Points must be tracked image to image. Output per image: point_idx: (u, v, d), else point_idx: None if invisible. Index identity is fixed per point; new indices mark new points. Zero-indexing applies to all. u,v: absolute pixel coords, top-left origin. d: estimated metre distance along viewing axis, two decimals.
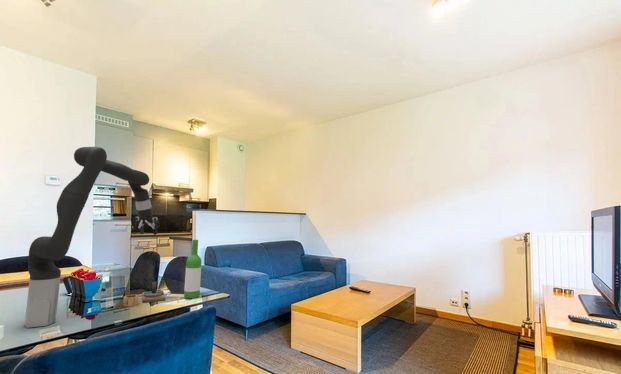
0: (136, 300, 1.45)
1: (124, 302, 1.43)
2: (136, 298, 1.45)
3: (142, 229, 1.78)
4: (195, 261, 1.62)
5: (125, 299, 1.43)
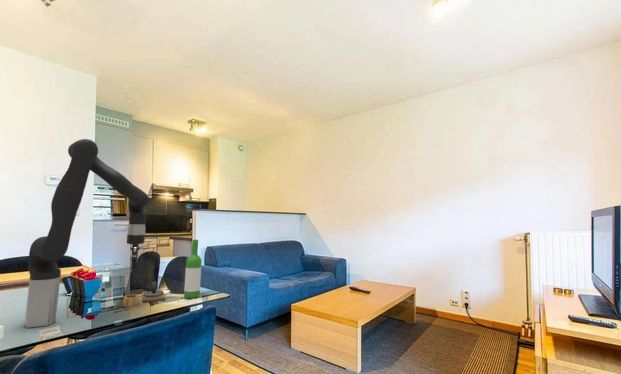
0: (136, 300, 1.45)
1: (124, 302, 1.43)
2: (136, 298, 1.45)
3: None
4: (195, 261, 1.62)
5: (125, 299, 1.43)
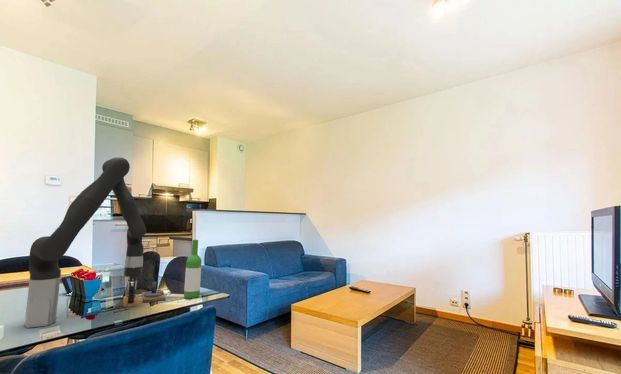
0: (136, 300, 1.45)
1: (124, 302, 1.43)
2: (136, 298, 1.45)
3: None
4: (195, 261, 1.62)
5: (125, 299, 1.43)
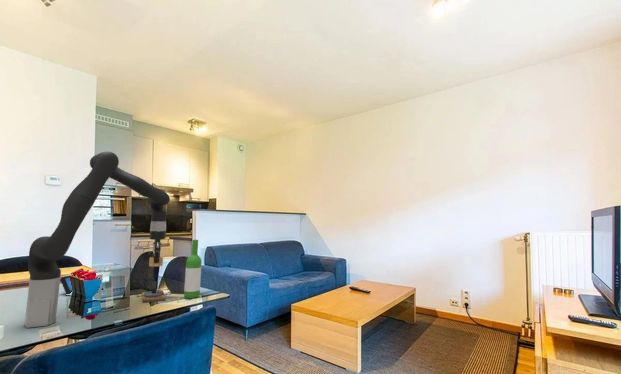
0: (161, 261, 1.60)
1: (150, 262, 1.58)
2: (161, 259, 1.60)
3: None
4: (195, 261, 1.62)
5: (151, 259, 1.58)
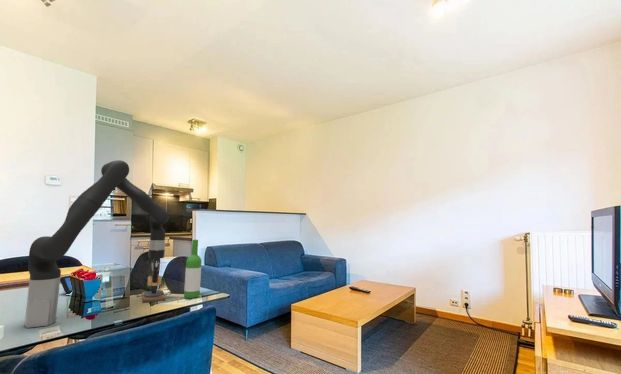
0: (159, 280, 1.59)
1: (149, 281, 1.57)
2: (159, 278, 1.59)
3: None
4: (195, 261, 1.62)
5: (150, 279, 1.57)
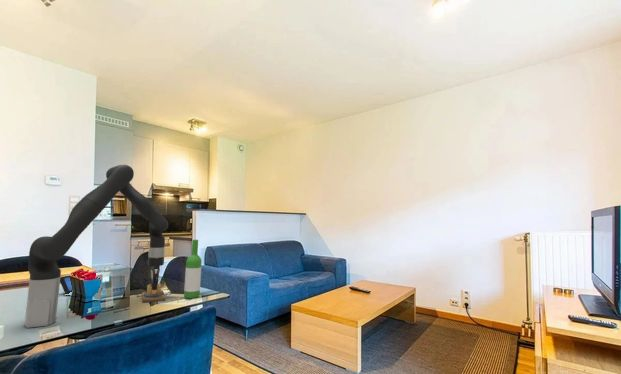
0: (159, 288, 1.59)
1: (148, 290, 1.57)
2: (159, 286, 1.59)
3: None
4: (195, 261, 1.62)
5: (149, 287, 1.57)
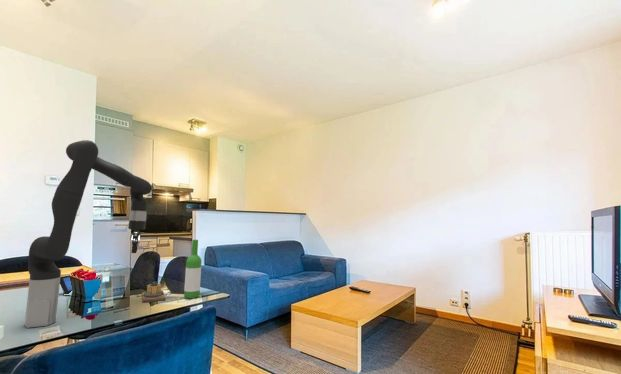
0: (159, 288, 1.59)
1: (148, 290, 1.57)
2: (159, 286, 1.59)
3: None
4: (195, 261, 1.62)
5: (149, 287, 1.57)
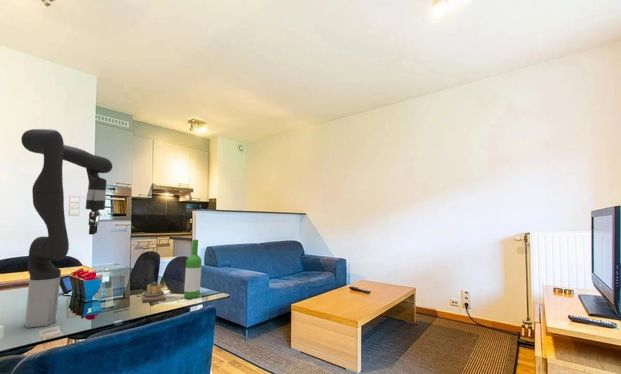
0: (159, 288, 1.59)
1: (148, 290, 1.57)
2: (159, 286, 1.59)
3: (94, 227, 1.49)
4: (195, 261, 1.62)
5: (149, 287, 1.57)
